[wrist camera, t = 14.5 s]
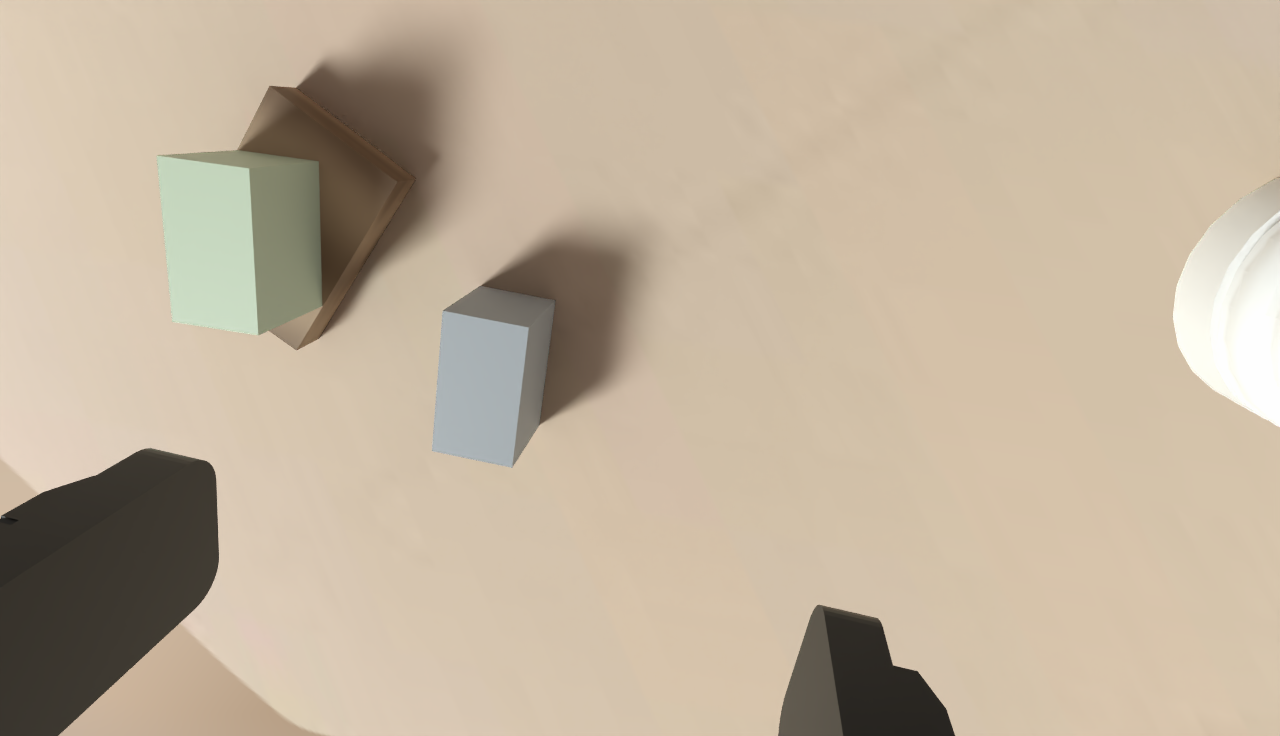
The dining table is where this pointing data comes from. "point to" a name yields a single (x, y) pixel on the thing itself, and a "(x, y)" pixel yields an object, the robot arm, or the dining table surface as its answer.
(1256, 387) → the honey pot
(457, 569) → the dining table surface
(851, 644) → the robot arm
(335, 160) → the walnut brick
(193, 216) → the sage brick
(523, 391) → the slate brick
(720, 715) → the dining table surface
